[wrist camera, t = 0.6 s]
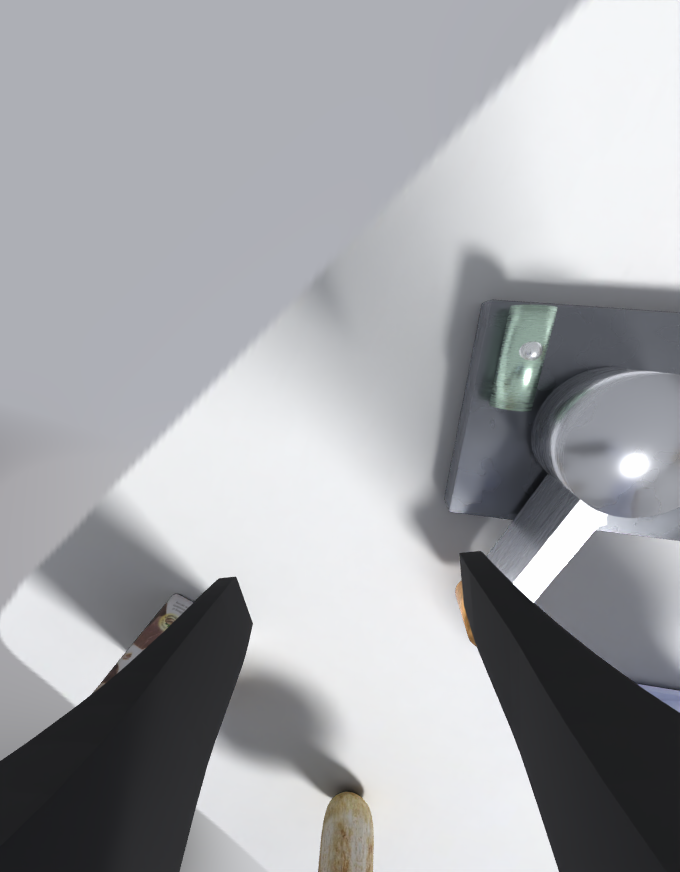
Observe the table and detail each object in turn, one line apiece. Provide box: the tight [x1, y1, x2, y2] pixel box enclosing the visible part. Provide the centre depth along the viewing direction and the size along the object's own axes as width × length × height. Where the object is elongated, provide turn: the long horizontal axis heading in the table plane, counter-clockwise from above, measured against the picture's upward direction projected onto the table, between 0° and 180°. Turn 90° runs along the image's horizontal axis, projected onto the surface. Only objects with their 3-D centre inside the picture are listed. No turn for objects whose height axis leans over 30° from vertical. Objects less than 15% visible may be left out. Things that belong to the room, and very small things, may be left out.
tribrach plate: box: [444, 300, 680, 541], centre depth 16 cm, size 11×12×4 cm
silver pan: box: [455, 367, 680, 646], centre depth 16 cm, size 15×6×3 cm, turn 156°
